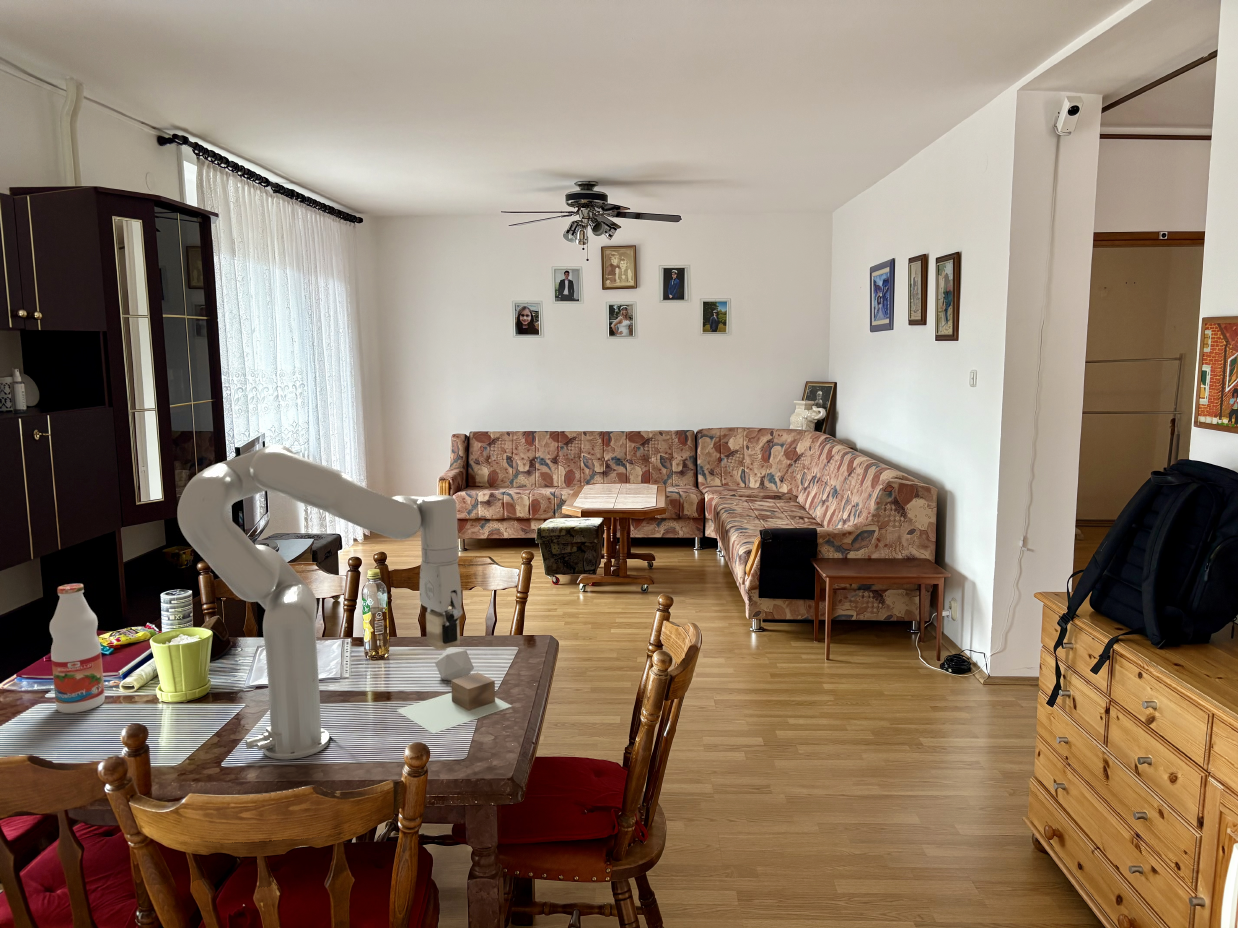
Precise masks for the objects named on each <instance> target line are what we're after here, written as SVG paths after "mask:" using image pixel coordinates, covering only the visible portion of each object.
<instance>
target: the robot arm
mask: <svg viewBox="0 0 1238 928" xmlns="http://www.w3.org/2000/svg"><path fill="white" fill-rule="evenodd" d="M263 492H269V493H272V494H275V495H277V496H281V497H283V498H286V499H289V500H291V501H292V500H293V501H295V502H297V503H300V504H303V505H306V506H309V507H311V508H312V507H313V508H315V509H318V510H321V511H322V512H325V513H327V514H329V515H331V516H333V517H336V518H338V519H341V520H344V521H345V522H348V523H350V524H353V525H354V526H357V527H359V528H362V529H365V530H367V531H370V532H373V533H375V534H378V535H382V536H384V537H387V538H391V539H394V540H402V541H403V540H407V539H410V538H412V537H414V536H415V535H416V534H417V533H418V532H419V531H420V542H421V543H420V544H421V545H420V546H421V547H420V548H421V563H420V569H419V602H420V604H421V605H422V606H424V607H425V609H426V612H430V611H437V612H440V613H442V615H443V621H444V625H442V634H443V643H444V644H447V643H451V642H455V641H457V623H458V619H459V620H460V617H461V616H462V615H463V609H462V585H461V584H462V583H461V574H460V568H459V563H458V562H459V561H460V560H459V542H458V541H459V537H458V510H457V509H458V505H457V501H456V499H455V498H454V496H451V495H445V494H436V495H434V494H433V495H427V496H413V495H412V496H410V495H395V496H392V497H389V496H388V495H385V494H382V493H379V492H377V491H374V490H372V489H369V488H368V487H366V486H364V485H362V484H360V483H359V482H358V481H356V480H355V479H354V478H352V477H351V476H349V474H346V473H345V472H343V471H341V470H338V469H335V468H333V467H330V466H328V465H325V464H321V463H319V462H316V461H314V460H310V459H308V458H305V457H304V456H300V455H299V454H296V453H295V452H294V451H293V450H292V449H290V447H287V446H285V445H282V444H270V445H266V446H263V447H261V448H258V449H257V450H253V451H250V452H248V453H245V454H241V455H238V456H236V457H233V458H230V459H227V460H224V461H222V462H218V463H215V464H213V465H210V466H208V467H207V468H206V467H205V468H204V469H203V470H202V471H200V472H198V473H197V474H196V475H194V476H193V477H192V478H191V480H190V481H189V482H188V483H187V484H186V486H185V488H184V490H183V492H182V494H181V496H180V498H179V501H178V505H177V510H176V511H177V512H176V513H177V523H178V526H179V528H180V531H181V533H182V535H183V536H184V538H185V539H186V541H187V542H188V543H189V544H190V545H191V547H192V548H193V549H194V550H195V551H196V552H197V553H198V554H199V555H200V557H201V558H202V559H203V560H204V561H205V562H206V563H207V565H208V566H209V567H210V568H211V569H212V571H214V572H215V574H216V575H217V576H218V577H219V578H220V579H221V580H222V581H223V583H225V584H226V585H227V587H228V588H229V590H231V591H232V592H233V594H234V595H236V596H237V597H238V598H240V599H241V600H243V601H246V602H250V603H252V602H253V603H254V602H255V603H256V602H257V603H258V604H260V605H261V607H262V608H263V609H264V610H265V612H264V615H263V619H262V620H263V621H262V632H263V633H262V634H263V641H264V643H263V644H264V649H265V650H264V651H265V657H266V658H265V661H266V663H265V664H266V673H267V674H266V675H267V676H266V677H267V687H268V689H267V691H268V703H269V704H268V705H269V717H270V718H269V720H270V726H269V725H268V726H267V727H265V732H264V733H263V732H262V733H261V735H260V736H259V735H258V736H256V737H255V736H254V737H251V738H247V739H246V740H245V747H246V749H247V750H251V749H254V748H256V749H257V751H261V750H263V753H264V755H265V756H267V757H269V758H271V759H275V760H296V759H302V758H305V757H309V756H312V755H315V754H317V753H319V752H320V751H322V750H324V749H325V748H326V747H327V746H328V745H329V744H330V740H331V738H330V737H331V736H330V733H329V732H328V731H327V730H326V729H323V728H322V719H321V718H322V717H321V699H320V696H321V695H320V681H319V680H320V679H319V663H318V662H319V661H318V647H317V624H316V623H317V622H316V621H317V607H318V602H317V598H316V595H315V593H314V591H313V590H312V589H311V587H310V586H309V585H308V584H307V583H306V582H305V580H304V579H302V577H301V576H300V575H299V574H298V573H297V572H296V571H295V569H294V568H293V567H292V566H291V565H290V564H289V563H288V562H287V560H285V558H284V557H283V556H282V555H281V554H280V553H279V552H278V551H276V550H275V549H274V548H271V547H270V546H268V545H263V544H255V543H253V541H252V540H251V539H250V538H249V537H248V536H247V534H245V532H244V531H243V530H242V529H241V528H240V527H239V526H238V525H237V524H236V523H235V522H234V521H232V520H231V518H230V516H229V509H230V507H232V506H233V504H234V503H236V502H238V501H241V500H243V499H247V498H249V497H253V496H255V495H258V494H260V493H263ZM449 607H451V608H449ZM448 608H449V609H448ZM448 612H452V614H450V616H449V617H448V615H447V613H448Z"/></svg>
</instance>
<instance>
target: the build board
mask: <svg viewBox="0 0 1238 928" xmlns="http://www.w3.org/2000/svg"><path fill="white" fill-rule="evenodd" d="M509 708H512V705H511V704H509V703H507V701H506V702H505V701H503V700H501V699H500V698H497V697H496V696H495V702H493V703H491V704H488V705H485V706H482V707H479V708H476V709H473V710H470V711H468V710H466V709H465V708H463V707H461V706H459V705H457V704H456V703H454V702H452V692H450V693H446V694H442V695H439V696H436V697H433V698H429V699H427V700H423V701H420V702H418V703H414V704H410V705H408V706H405V707H401V708H398V709H395V711H396V712H398V713H399V714H401V715H403V716H405V717H406V718H407V719H409V720H411V721H412V722H414V723H415V724H417V725H419V726H420V727H422V728H423V729H425V730H427V731H428V732H429V733H431V734H433V735H434V734H437V733H439V732H443V731H445V730H448V729H451V728H454V727H457V726H459V725H462V724H465V723H468V722H472V721H474V720H477V719H479V718H483V717H485V716H488V715H491V714H494V713H497V712H500V711H502V710H505V709H509Z"/></svg>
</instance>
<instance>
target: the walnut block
mask: <svg viewBox="0 0 1238 928" xmlns="http://www.w3.org/2000/svg"><path fill="white" fill-rule="evenodd" d="M450 683H451V684H450V685H451V693H452V702H454V703H456V704H457V705H459V706H461V707H463V708H465V709H466V710H468V711H470V710H473V709H476V708H479V707H482V706H485V705H488V704H491V703H493V702H495V697H496V680H494V679H492V678H490V677H488V676H485V675H484V674H482V673H480V672H478V671H477V672H474V673H470V674H469V675H467V676H464V677H460V678H457V679H454V680H451V682H450Z"/></svg>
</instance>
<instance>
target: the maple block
mask: <svg viewBox="0 0 1238 928" xmlns="http://www.w3.org/2000/svg"><path fill="white" fill-rule="evenodd" d="M448 609H450V608H448ZM450 614H452V612H448V613H447V615H448V617H449V616H450ZM442 625H444V621H443V615H442V613H440V612H437V611H430V612H427V611H426V612H425V627H426V645H427V646H429V647H431V648H433V649H436V650H437V651H442V650H447V649H448V648H450V647H451V648H454V647H457V646H461V643H460V642H461V638H460V636H461V634H460V632H461V631H460V618H459V619H458V623H457V641H455V642H451V643H447V644H444V643H443V634H442Z"/></svg>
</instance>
